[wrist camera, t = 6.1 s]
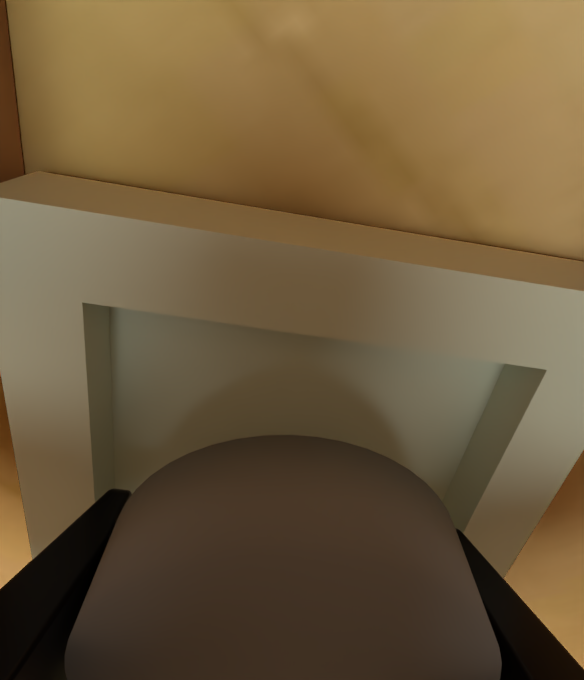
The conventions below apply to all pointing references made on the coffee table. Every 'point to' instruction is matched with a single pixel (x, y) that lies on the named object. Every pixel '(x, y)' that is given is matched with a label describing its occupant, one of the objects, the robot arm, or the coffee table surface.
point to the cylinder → (283, 573)
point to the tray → (279, 350)
